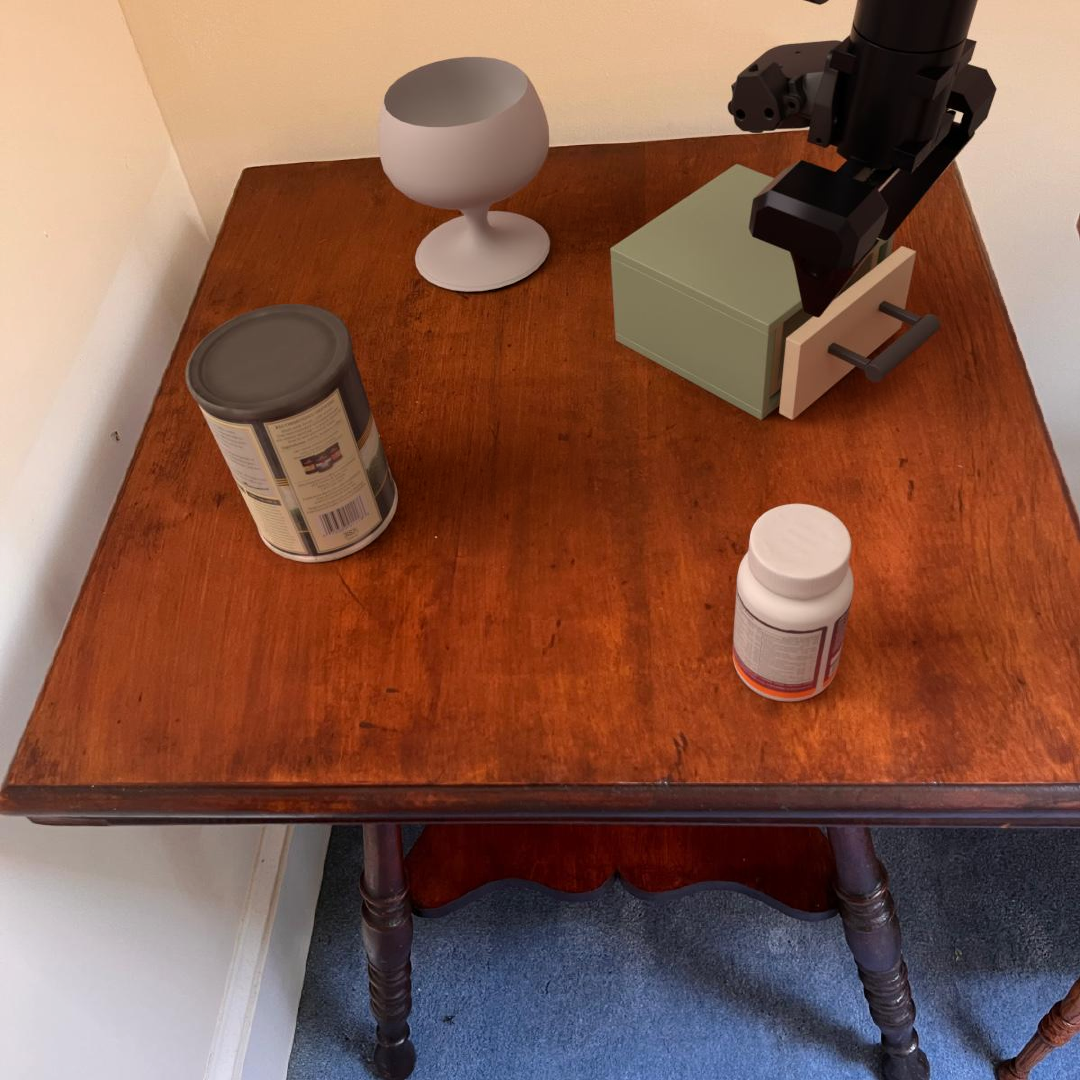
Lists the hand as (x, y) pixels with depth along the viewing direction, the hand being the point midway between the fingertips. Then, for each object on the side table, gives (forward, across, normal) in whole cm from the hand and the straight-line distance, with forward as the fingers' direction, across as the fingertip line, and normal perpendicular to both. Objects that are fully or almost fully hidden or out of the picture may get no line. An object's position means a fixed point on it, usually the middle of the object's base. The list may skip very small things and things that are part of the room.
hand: (847, 274), depth 65 cm
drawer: (+12, -5, -4) cm, 14 cm away
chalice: (+16, -4, -34) cm, 38 cm away
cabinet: (+13, -6, -9) cm, 17 cm away
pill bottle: (+12, +20, +9) cm, 25 cm away
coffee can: (+15, +26, -24) cm, 39 cm away
